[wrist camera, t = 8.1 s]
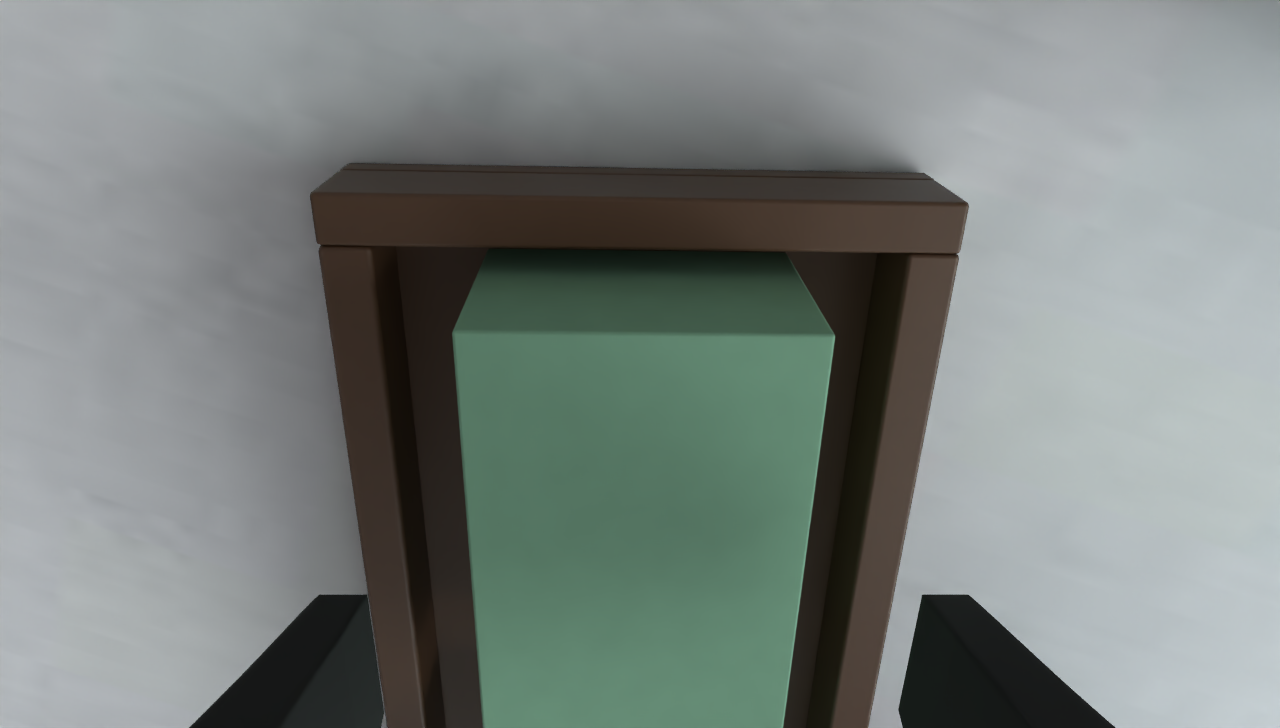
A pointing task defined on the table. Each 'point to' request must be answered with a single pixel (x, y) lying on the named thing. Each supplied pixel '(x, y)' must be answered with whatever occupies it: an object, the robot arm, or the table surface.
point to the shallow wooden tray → (634, 221)
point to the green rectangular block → (638, 483)
